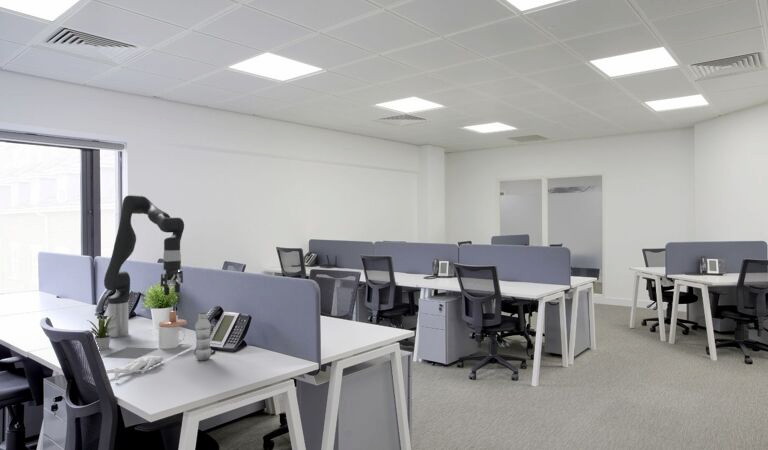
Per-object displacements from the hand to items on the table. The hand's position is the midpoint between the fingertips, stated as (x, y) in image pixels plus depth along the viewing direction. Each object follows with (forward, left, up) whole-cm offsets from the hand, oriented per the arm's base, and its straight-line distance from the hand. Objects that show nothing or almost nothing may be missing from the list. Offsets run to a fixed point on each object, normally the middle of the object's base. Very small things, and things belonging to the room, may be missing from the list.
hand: (172, 293), depth 225 cm
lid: (0, 0, -15) cm, 15 cm away
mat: (-11, -14, -25) cm, 31 cm away
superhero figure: (+7, -36, -26) cm, 44 cm away
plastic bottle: (+25, -17, -26) cm, 39 cm away
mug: (0, 0, -26) cm, 26 cm away
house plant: (-28, -9, -26) cm, 39 cm away
